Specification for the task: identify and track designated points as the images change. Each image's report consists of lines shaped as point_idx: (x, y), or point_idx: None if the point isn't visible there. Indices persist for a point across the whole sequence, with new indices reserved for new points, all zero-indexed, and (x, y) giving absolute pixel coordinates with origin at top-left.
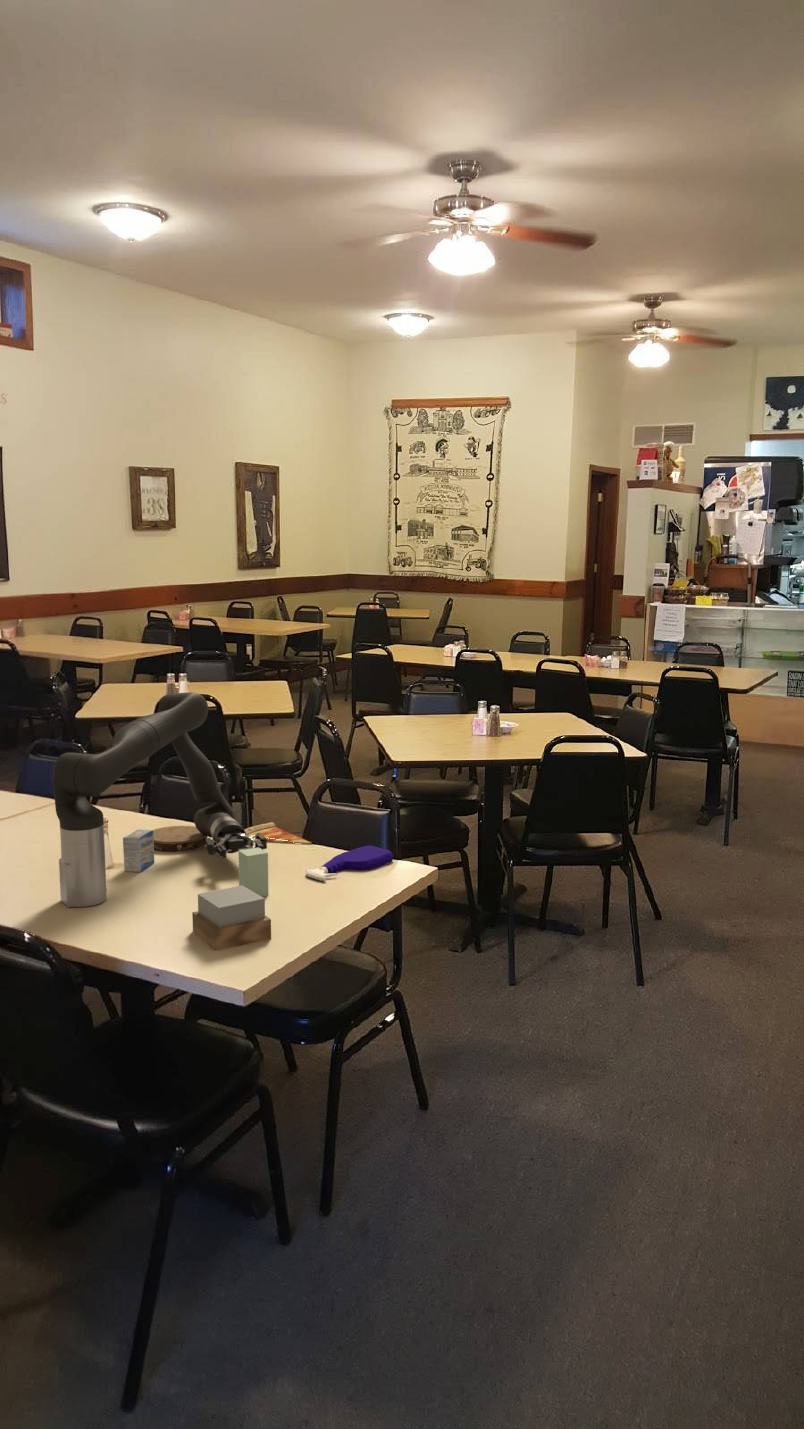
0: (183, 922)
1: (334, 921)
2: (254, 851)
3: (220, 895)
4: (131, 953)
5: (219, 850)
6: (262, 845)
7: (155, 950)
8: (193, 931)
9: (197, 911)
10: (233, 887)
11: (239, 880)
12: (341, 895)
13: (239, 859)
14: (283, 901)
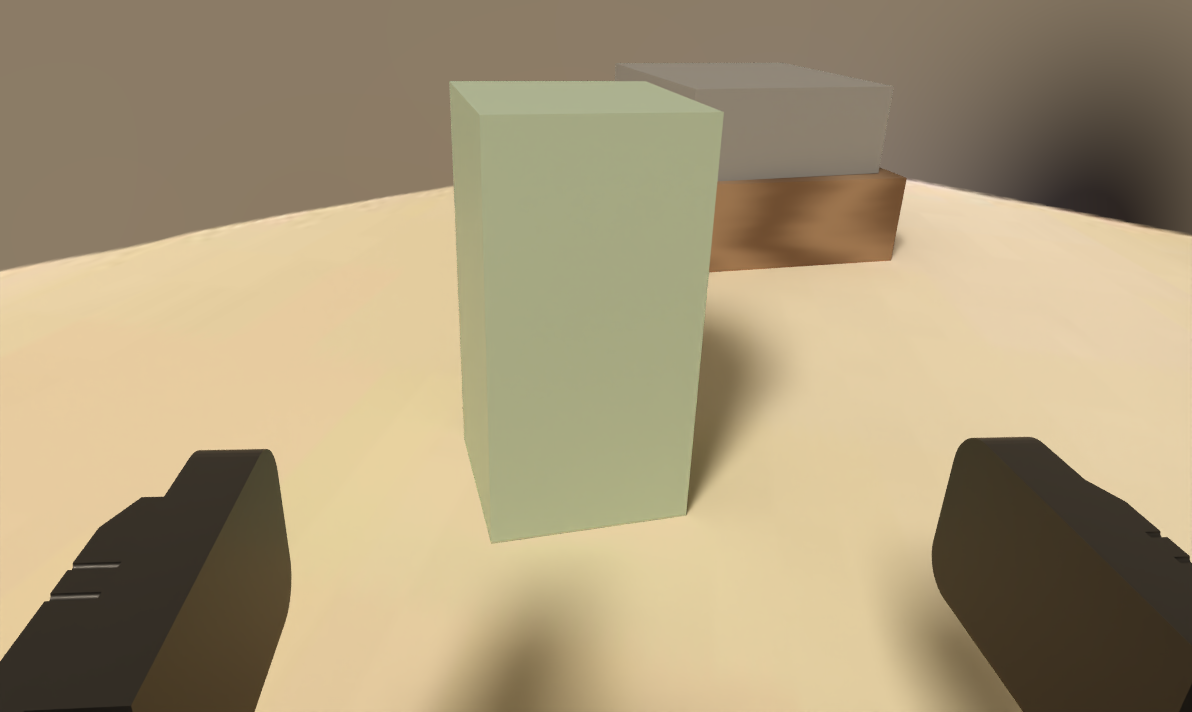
0: (966, 303)
1: (310, 230)
2: (560, 95)
3: (789, 77)
4: (1051, 219)
5: (1122, 505)
6: (109, 540)
7: (977, 218)
8: (886, 256)
9: (885, 178)
10: (738, 88)
11: (691, 404)
12: (10, 359)
13: (706, 200)
14: (410, 363)
